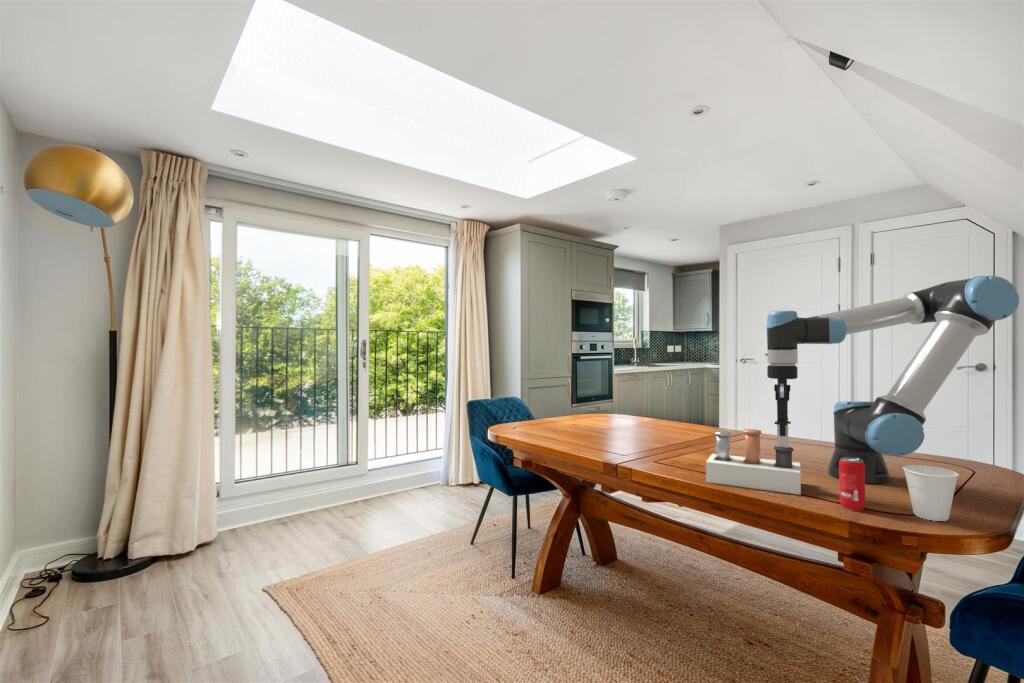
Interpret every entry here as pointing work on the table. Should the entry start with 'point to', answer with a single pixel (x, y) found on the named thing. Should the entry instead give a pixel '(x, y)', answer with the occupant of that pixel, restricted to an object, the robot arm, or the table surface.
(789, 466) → the plug black
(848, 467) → the beverage can
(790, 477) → the socket board
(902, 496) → the table surface
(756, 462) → the plug rust
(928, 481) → the cup
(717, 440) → the plug grey
